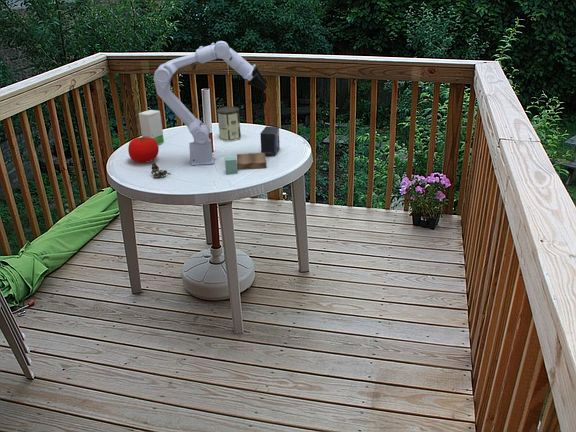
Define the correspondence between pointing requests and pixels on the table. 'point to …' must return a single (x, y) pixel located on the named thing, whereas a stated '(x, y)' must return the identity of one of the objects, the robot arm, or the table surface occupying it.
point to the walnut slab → (251, 161)
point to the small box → (270, 141)
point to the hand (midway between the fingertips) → (265, 86)
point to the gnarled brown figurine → (158, 172)
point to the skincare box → (151, 125)
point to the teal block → (231, 165)
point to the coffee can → (229, 123)
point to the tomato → (143, 149)
